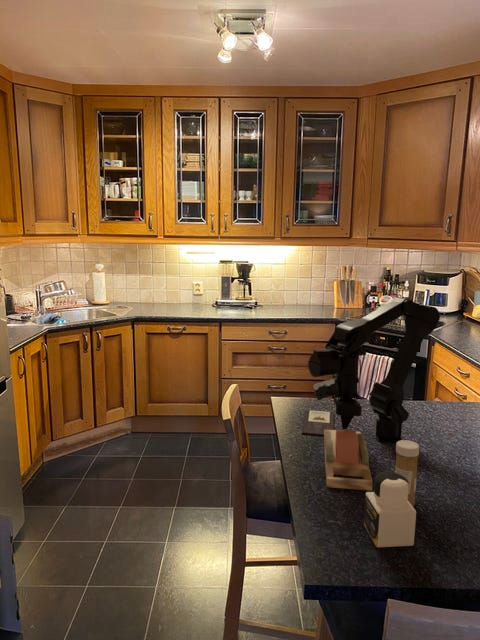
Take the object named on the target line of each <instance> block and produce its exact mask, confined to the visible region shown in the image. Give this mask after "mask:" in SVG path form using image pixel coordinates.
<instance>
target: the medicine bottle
mask: <svg viewBox="0 0 480 640" xmlns="http://www.w3.org/2000/svg"><path fill="white" fill-rule="evenodd" d="M373 483H374V485H373V491H366V492H365V498H364V514H363V515H364V517H363V526H364V528H365V530H366V531H367V532H368V535H369V537H370V538H371V540H372V541H373V544H374V545H375V547H376V548H391V547H392V548H394V547H411V546H414V545H415V535H416V534H415V533H416V532H415V531H416V521H417V519H416V518H417V511H416V509H415V508H414V506H412V505H411V504H410V503H409V501H408V487H409V482H408V480H407V479H406V478H405V477H404V476H402V475H400V474H398V473H395V471H382V472H381V471H380V472H379V473H377V474H376V475H375V477H374V482H373Z"/></svg>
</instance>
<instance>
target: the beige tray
mask: <svg viewBox="0 0 480 640" xmlns="http://www.w3.org/2000/svg"><path fill="white" fill-rule="evenodd" d="M336 430H337V429H334V430H325V429H324V436H323V447H324V459H325V460H324V462H325V464H324V465H325V480H326V481H325V482H326V488H333V489H334V488H336V489H346V490H347V489H348V490H358V491H359V490H360V491H368V492H373V487H374V485H373V483H374V482H373V478H372V474H371V470H370V465H369V463H370V456H369V452H368V448H367V444H366V441H365V437H364V433H361V431H356V433H357V438H358V443H359V451H358V464H350V463H337V462H336V451H335V443H336ZM334 475H335V477H334ZM338 476H347V477H338ZM350 477H360V478H350ZM361 478H362V479H361Z"/></svg>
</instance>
